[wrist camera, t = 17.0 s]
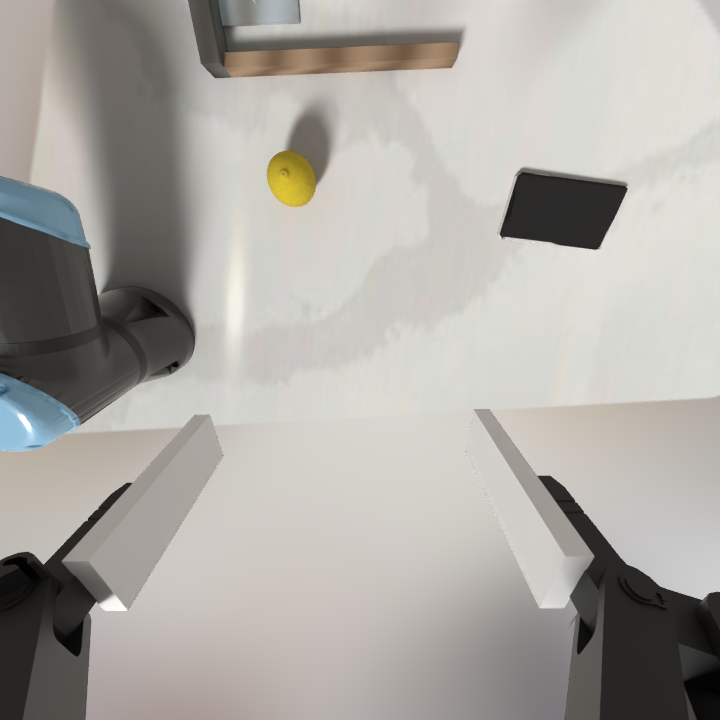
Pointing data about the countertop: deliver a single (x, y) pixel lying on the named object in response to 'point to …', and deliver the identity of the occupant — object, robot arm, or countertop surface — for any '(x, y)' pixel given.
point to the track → (280, 6)
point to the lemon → (291, 178)
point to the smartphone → (559, 211)
